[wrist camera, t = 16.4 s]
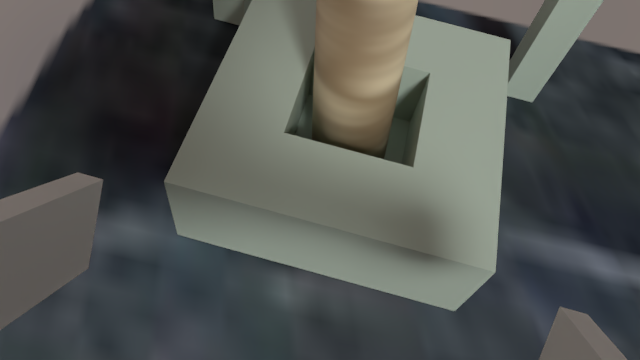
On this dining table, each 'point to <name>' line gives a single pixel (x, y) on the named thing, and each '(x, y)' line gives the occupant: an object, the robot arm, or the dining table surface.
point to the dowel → (359, 71)
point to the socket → (356, 168)
